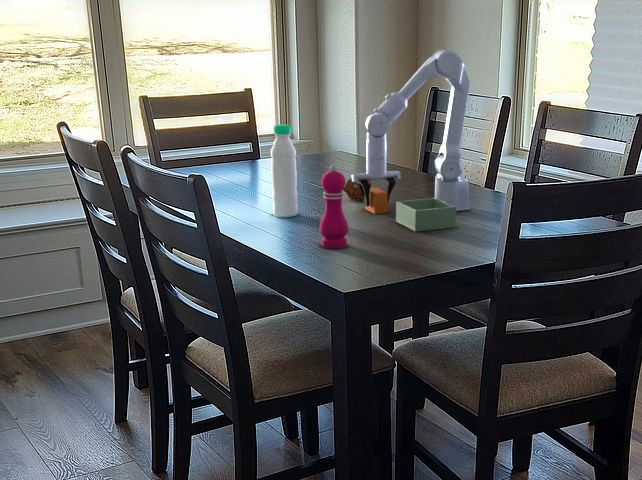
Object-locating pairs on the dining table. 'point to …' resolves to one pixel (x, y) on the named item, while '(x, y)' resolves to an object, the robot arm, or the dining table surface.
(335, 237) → the pepper mill
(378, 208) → the orange rectangular block
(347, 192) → the brown rough oval
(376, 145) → the robot arm
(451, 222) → the open green box
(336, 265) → the dining table surface
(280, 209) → the water bottle
